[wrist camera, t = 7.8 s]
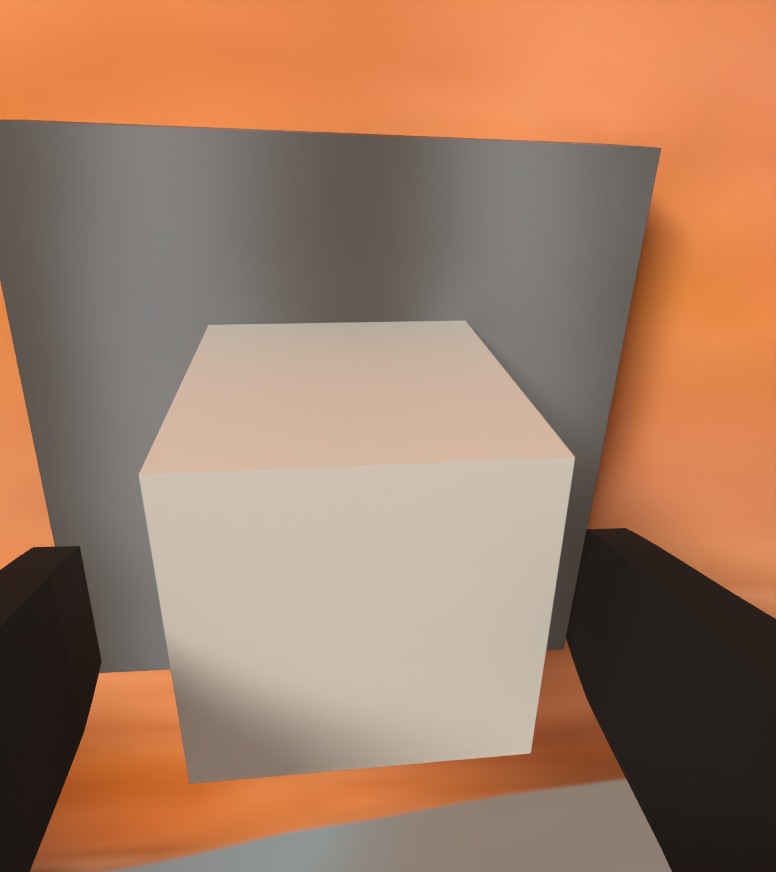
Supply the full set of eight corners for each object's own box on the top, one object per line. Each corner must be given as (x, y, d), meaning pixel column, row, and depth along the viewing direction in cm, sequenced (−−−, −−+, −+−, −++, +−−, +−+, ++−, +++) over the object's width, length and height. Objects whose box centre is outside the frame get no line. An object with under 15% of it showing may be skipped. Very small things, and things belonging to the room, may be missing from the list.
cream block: (231, 543, 15) (189, 783, 10) (208, 325, 13) (138, 474, 7) (451, 532, 15) (530, 753, 10) (465, 320, 13) (575, 457, 8)
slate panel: (113, 594, 19) (81, 674, 16) (34, 119, 14) (-33, 118, 11) (528, 578, 20) (563, 649, 17) (597, 143, 15) (660, 148, 12)
